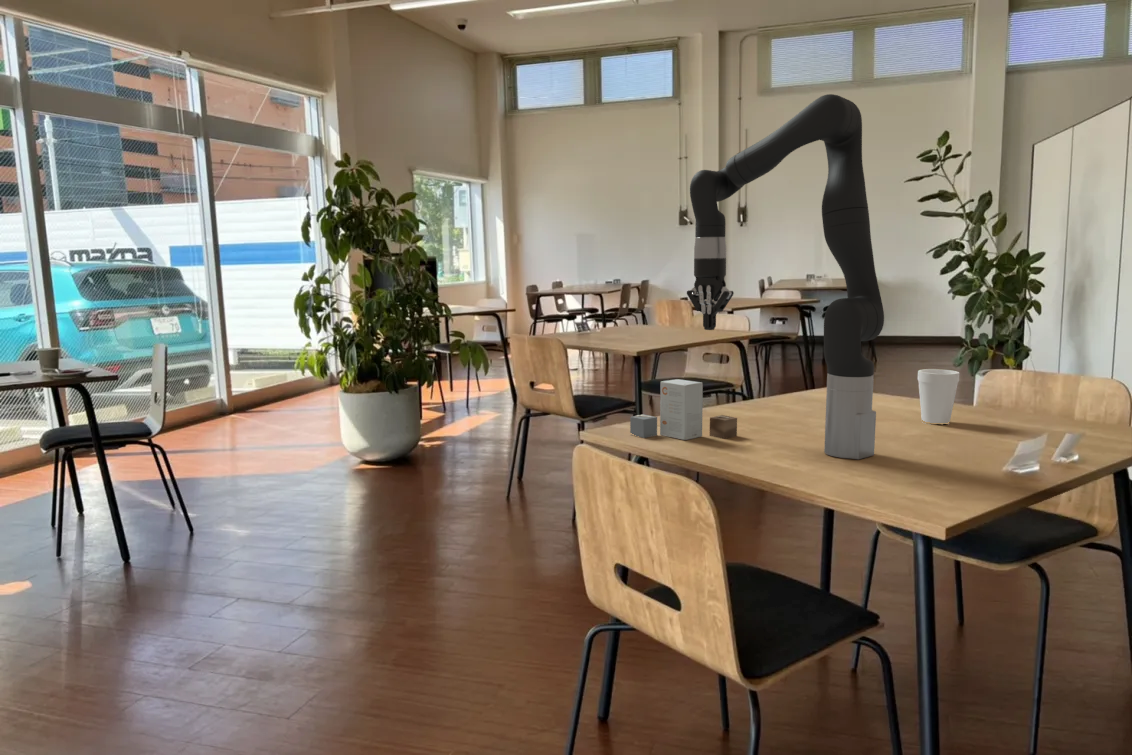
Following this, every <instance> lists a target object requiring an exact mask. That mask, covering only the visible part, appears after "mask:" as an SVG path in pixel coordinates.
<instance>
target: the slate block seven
mask: <svg viewBox="0 0 1132 755" xmlns="http://www.w3.org/2000/svg"><path fill="white" fill-rule="evenodd" d="M629 421H630V424H629V426H630V427H629V429H630V431H629V434H630V433H632V434H634V435H636V436H635V437H637V436H639V437H638V438H641V439H646V438H651V437H656V436H658V416H653V415H648V414H637V415H634V416H630V420H629Z"/></svg>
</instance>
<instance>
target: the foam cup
mask: <svg viewBox="0 0 1132 755" xmlns="http://www.w3.org/2000/svg"><path fill="white" fill-rule="evenodd" d="M917 381H918V392H919V404H920V416H921V421H922V420H923V421H925V422H930V423H948V422H950V421H951V418H952V414H953V410H954V409H953V408H954V405H955V404H954V403H955V400H956V394H957V390H958V389H957V388H958V384H959V382H960V372H959V371H956V370H952V369H951V370H950V369H941V368H939V369H938V368H926V369H925V368H924V369H919V370H917ZM950 423H951V422H950Z"/></svg>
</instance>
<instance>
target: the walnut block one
mask: <svg viewBox="0 0 1132 755" xmlns="http://www.w3.org/2000/svg"><path fill="white" fill-rule="evenodd" d="M709 436H710V437H714V438H718V439H719V438H720V439H723V440H726V439H731V438H733V437H734V438H735V437H737V436H738V417H736V416H735V417H734V416H730V415H723V414H721V415H716V416H711V417H709Z"/></svg>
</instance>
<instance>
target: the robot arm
mask: <svg viewBox="0 0 1132 755" xmlns="http://www.w3.org/2000/svg"><path fill="white" fill-rule="evenodd" d="M818 141H822V142H823V144H824V147H825V152H826V158H827V166H828V167H827V169H828V171H827V172H828V173H827V180H826V185H825V188H824V191H823V196H822V199H821V200H822V201H821V218H822V219H821V220H822V228H823V236H824V240H825V243H826V244H827V247H828V249H829V251H830V252H831V254H832V256H833V258H834V260H835V261H836V262H837V265H839V266H838V267H839V268H840V270H841V272H842V274H843V277H844V280H845V281H844V282H845V286H846V292H847V297H845V298H844V297H843V298H837V299H835V300H833V301H832V302H831V303H830V304H829V305H828V307H827V308H826V311H825V314H824V318H823V355H824V356H823V357H824V360H825V364H826V366H827V371H826V372H827V374H826V375H827V377H826V397H825V398H826V399H825V401H826V402H825V406H826V407H825V425H824V429H825V430H824V449H823V450H824V451H823V452H824V453H825V454H826V455H827V456H831V457H834V458H835V457H836V458H841V459H853V460H861V459H865V458H869V457H872V456H875V445H876V442H875V441H876V424H877V423H876V422H877V421H876V420H877V412H876V411H875V410H873V394H874V377H875V375H874V374H875V364H874V362H873V360H871V359H869V358H866V356H864V355H863V352H862V342H866V341H873V340H874V339H876V338H877V337H878V336H879V335H880V334H881V333H882V331H883V328H884V325H885V324H884V323H885V313H884V312H885V310H884V305H883V300H882V297H881V292H880V288H879V282H878V278H877V273H876V267H875V266H876V265H875V261H874V251H873V244H872V235H871V222H870V212H869V211H870V210H869V204H868V197H867V190H866V181H865V180H866V179H865V172H864V166H863V165H864V164H863V118H862V113H861V110H860V109H859V107H858V106H857V104H856V103H854V102H853V101H852V100H849V99H847V98H845V97H842V96H840V95H838V94H832V93H831V94H830V93H829V94H824V95H821V96H820V97H817V98H816V99H815V100H813V101H812V102H810V103H809V104H808V105H807V106H805V107H804V108H803V109H802V110H800V111H799V112H798V113H797V114H796V115H795V116H793V117H792V118H791V119H789V120H787V122H785V123H784V124H783V125H781V126H780V127H779V128H777V129H775V131H773V132H772V133H770V134H768V135H767V136H765V137H764V138H762V139H761V140H759V141H758V142H755V143H754V144H752V145H750V146H749V147H747V148H745V149H744V150H742V151H740V152H738V153H736V154H735V155H733V156H732V157H730V158H729V159H728V160H727V162H726V164H725V167H724V168H721V169H719V170H709V169H702V170H698V171H697V172H696V173H695V174H694V175H693V176H692V178H691V181H690V185H689V196H690V202H691V207H692V212H693V216H694V219H695V230H694V231H695V236H694V237H695V238H694V245H693V246H694V247H693V276H694V277H695V280H694V284H693V285H694V286H693V287H692V288H691V289H690V290H687V291H686V295H687V297H688V298H689V300H690V302H691V303H692V305H693V307H694V309H695V311H697V312H700V313H701V314H702V326H703V329H704V330H705V331H714V330H715V328H716V327H717V314H718V313H720V312H723V311H724V310H725V308H726V307H727V305H728V303H729V302H730V301H731V299H732V297H733V296H734V294H735V293H734V291H733V290H729V289H728V288H727V287H726V286H727V285H726V281H725V277H726V276H727V242H726V225H727V224H726V216H725V214H724V213H723V212H721V211H720V210H719V206H718V202H721V201H725V200H727V199H729V198H730V197H732V196H733V195H734V194H736V193H738V191H739V190H741V189H742V188H743V187H744V186H745V185H747V184H750V183H751V182H753V181H755V180H757V179H759V178H761V177H762V176H765V175H766V174H768V173H769V172H771V171H772V170H774V169H775V168H776V167H777V166H778V165H779V164H780V163H781V162H782V161H783V160H784V159H785V158H786V157H788V156H789V155H790V154H791V153H792V152H795V151H796V150H798V149H799V148H801V147H803V146H806V145H809V144H811V143H814V142H818Z"/></svg>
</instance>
